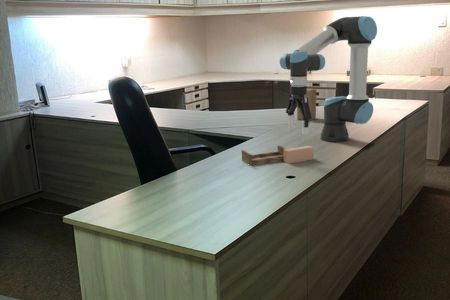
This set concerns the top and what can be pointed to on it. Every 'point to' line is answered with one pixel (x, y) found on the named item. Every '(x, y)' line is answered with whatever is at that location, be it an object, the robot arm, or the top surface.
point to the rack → (263, 157)
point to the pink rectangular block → (298, 154)
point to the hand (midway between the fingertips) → (298, 131)
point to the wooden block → (312, 104)
